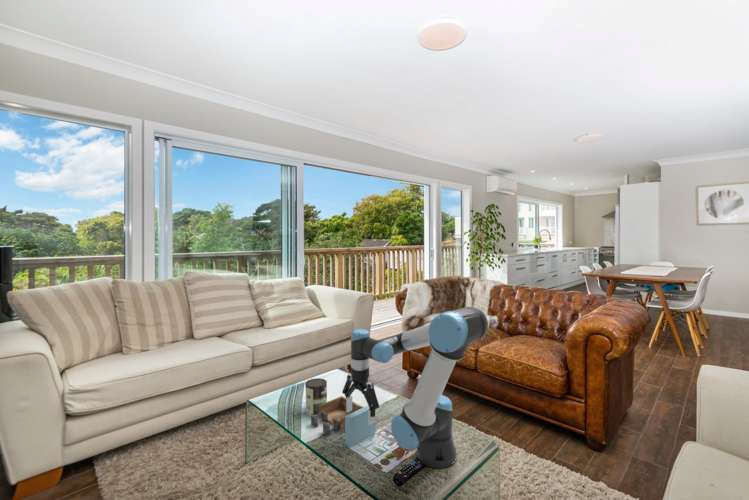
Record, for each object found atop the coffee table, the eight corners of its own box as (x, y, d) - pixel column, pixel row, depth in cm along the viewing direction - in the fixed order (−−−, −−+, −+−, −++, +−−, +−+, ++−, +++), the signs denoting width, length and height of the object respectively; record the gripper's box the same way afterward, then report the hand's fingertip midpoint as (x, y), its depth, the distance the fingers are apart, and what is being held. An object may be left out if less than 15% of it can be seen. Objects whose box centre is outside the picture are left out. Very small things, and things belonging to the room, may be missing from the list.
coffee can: (330, 406, 180) (329, 378, 179) (323, 417, 170) (322, 387, 169) (310, 405, 182) (309, 377, 181) (302, 415, 172) (301, 385, 171)
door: (369, 431, 158) (369, 404, 157) (375, 434, 155) (375, 406, 155) (344, 444, 148) (344, 415, 147) (350, 447, 146) (350, 418, 145)
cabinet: (365, 420, 166) (365, 407, 166) (331, 437, 153) (331, 423, 152) (341, 408, 179) (341, 396, 178) (308, 422, 165) (308, 409, 165)
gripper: (388, 373, 144) (387, 425, 145) (347, 357, 162) (347, 403, 163) (374, 379, 139) (374, 433, 140) (334, 361, 156) (334, 409, 158)
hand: (359, 417), depth 151 cm, fingers open, 13 cm apart
